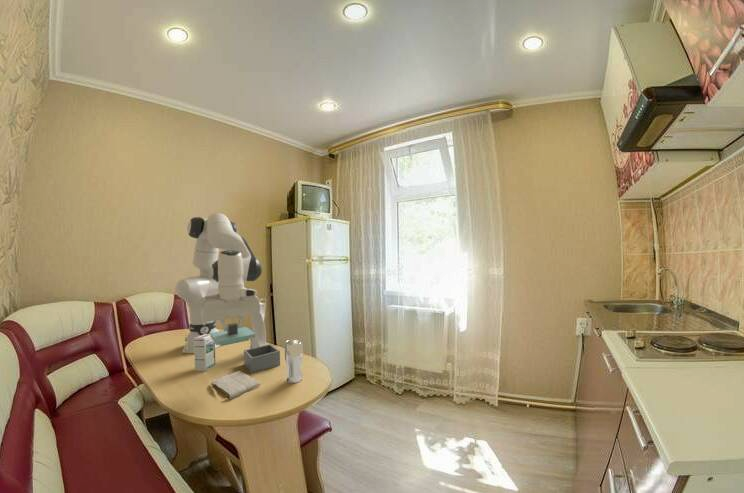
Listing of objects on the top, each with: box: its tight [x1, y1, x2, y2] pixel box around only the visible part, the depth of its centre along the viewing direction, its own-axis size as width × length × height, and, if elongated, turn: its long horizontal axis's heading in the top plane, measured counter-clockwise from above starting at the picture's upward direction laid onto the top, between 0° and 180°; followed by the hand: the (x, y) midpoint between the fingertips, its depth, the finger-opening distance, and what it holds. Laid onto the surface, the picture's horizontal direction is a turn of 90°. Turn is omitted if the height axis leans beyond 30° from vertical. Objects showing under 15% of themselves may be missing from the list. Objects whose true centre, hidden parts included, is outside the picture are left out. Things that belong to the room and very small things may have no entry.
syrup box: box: [193, 334, 216, 372], centre depth 124 cm, size 6×6×14 cm
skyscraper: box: [249, 298, 267, 349], centre depth 138 cm, size 8×8×28 cm
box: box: [243, 343, 281, 374], centre depth 124 cm, size 12×12×7 cm
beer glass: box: [284, 339, 304, 384], centre depth 111 cm, size 7×7×15 cm
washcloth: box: [210, 370, 261, 400], centre depth 107 cm, size 12×18×3 cm, turn 51°
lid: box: [210, 322, 255, 347], centre depth 107 cm, size 13×13×6 cm
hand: (232, 329), depth 106 cm, fingers closed on lid, 3 cm apart
